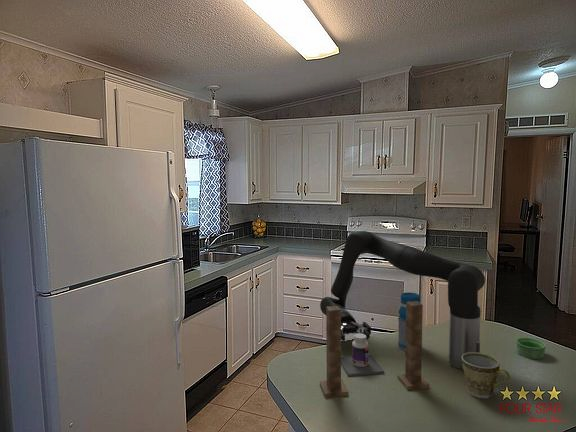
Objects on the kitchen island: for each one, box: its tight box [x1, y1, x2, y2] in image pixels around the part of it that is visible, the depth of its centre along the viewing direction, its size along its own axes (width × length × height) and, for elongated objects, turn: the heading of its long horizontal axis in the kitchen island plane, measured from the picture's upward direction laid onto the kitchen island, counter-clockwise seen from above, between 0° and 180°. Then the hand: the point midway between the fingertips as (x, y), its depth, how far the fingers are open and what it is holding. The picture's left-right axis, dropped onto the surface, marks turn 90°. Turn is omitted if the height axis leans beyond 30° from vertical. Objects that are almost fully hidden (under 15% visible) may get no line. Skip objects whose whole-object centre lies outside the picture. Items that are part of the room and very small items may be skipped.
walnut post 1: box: [319, 306, 350, 399], centre depth 115 cm, size 7×7×25 cm
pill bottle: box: [351, 334, 369, 367], centre depth 130 cm, size 5×5×10 cm
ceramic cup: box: [462, 352, 510, 400], centre depth 112 cm, size 13×10×10 cm
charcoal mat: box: [341, 354, 385, 377], centre depth 130 cm, size 12×12×1 cm
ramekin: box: [515, 337, 547, 360], centre depth 137 cm, size 9×9×4 cm
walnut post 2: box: [397, 301, 430, 391], centre depth 118 cm, size 7×7×25 cm
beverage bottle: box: [397, 292, 421, 352], centre depth 143 cm, size 8×8×20 cm
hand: (356, 337), depth 134 cm, fingers open, 8 cm apart
